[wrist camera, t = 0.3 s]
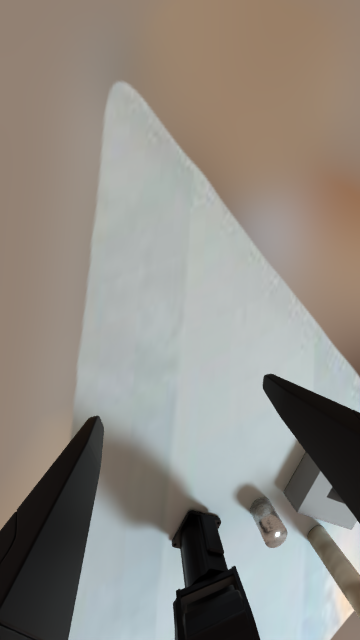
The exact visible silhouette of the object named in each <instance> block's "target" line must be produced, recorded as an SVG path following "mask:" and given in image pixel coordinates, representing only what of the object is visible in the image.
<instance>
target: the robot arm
mask: <svg viewBox="0 0 360 640" xmlns="http://www.w3.org/2000/svg"><path fill="white" fill-rule="evenodd" d="M263 389H264V391H265V393H266V395H267V396H268V398H269V399H270V401H271V403H272V404H273V406H274V408H275V409H276V411H277V412H278V414H279V415H280V417H281V418H282V420H283V421H284V422H285V424H286V425H287V426H288V428H289V429H290V431H291V432H292V433H293V435H294V436H295V437H296V439H297V440H298V441H299V443H300V444H301V445H302V447H303V448H304V449H305V451H306V452H307V453H308V455H309V456H310V457H311V459H312V460H313V461H314V463H315V464H316V465H317V467H318V468H319V470H320V471H321V472H322V474H323V475H324V476H325V478H326V479H327V480H328V482H329V483H330V484H331V486H332V487H333V488H334V490H335V491H336V492H337V494H338V495H339V496H340V498H341V499H342V500H343V502H344V503H345V504H346V506H347V507H348V508H349V510H350V511H351V513H352V514H353V515H354V517H355V518H356V519H357V521H358V522H359V523H360V413H359V412H357V411H355V410H351V409H350V408H348V407H346V406H343V405H341V404H339V403H337V402H334V401H332V400H330V399H328V398H325V397H323V396H321V395H319V394H316V393H314V392H312V391H310V390H307V389H305V388H303V387H301V386H298V385H296V384H294V383H292V382H289V381H287V380H285V379H283V378H280V377H278V376H276V375H274V374H267V375H265V376H264V379H263ZM103 436H104V427H103V424H102V422H101V419H100V417H99V416H93V417H90V418H89V419H88V420H87V421H86V422H85V424H84V425H83V426H82V428H81V429H80V430H79V431H78V433H77V434H76V435H75V436H74V438H73V439H72V440H71V441H70V443H69V444H68V445H67V447H66V448H65V449H64V450H63V452H62V453H61V455H60V456H59V457H58V458H57V459H56V461H55V462H54V463H53V464H52V466H51V467H50V468H49V470H48V471H47V472H46V473H45V475H44V476H43V477H42V478H41V480H40V481H39V482H38V484H37V485H36V486H35V487H34V489H33V490H32V491H31V493H30V494H29V495H28V496H27V497H26V499H25V500H24V501H23V502H22V504H21V505H20V506H19V508H18V509H17V512H15V513H14V514H13V515H12V517H11V518H10V519H9V520H8V521H7V523H6V524H5V525H4V527H3V528H2V529H1V530H0V640H68V637H69V632H70V627H71V621H72V616H73V611H74V605H75V600H76V595H77V590H78V584H79V579H80V574H81V569H82V563H83V558H84V553H85V547H86V542H87V537H88V532H89V526H90V521H91V516H92V510H93V505H94V500H95V495H96V489H97V484H98V479H99V473H100V467H101V458H102V447H103ZM220 524H221V520H220V518H218V517H214V516H211V515H207V514H203V513H200V512H196V511H192V510H190V511H188V513H187V515H186V517H185V518H184V520H183V522H182V524H181V526H180V527H179V529H178V531H177V533H176V535H175V536H174V538H173V540H172V546H173V547H175V548H180V549H181V558H182V566H183V574H184V582H185V588H184V589H181V590H180V589H178V590H176V597H177V598H176V600H175V601H174V603H173V609H174V624H175V640H260V637H259V634H258V630H257V627H256V623H255V620H254V617H253V614H252V611H251V608H250V605H249V602H248V600H247V597H246V594H245V591H244V589H243V586H242V583H241V580H240V578H239V575H238V572H237V569H236V567H235V566H233V567H232V568H231V569H229V570H228V569H227V565H226V562H225V558H224V555H223V554H224V550H223V547H222V543H221V540H220V536H219V533H218V528H219V526H220Z"/></svg>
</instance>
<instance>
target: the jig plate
mask: <svg viewBox="0 0 360 640" xmlns="http://www.w3.org/2000/svg"><path fill="white" fill-rule="evenodd" d="M284 494H285V496H286V497H287V499H288V500H289V502H290V503H291V505H292V506H293V507H294V509H295V510H296V512H297V513H300V514H303V515H306V516H309V517H313V518H316V519H319V520H322V521H325V522H328V523H331V524H335V525H338V526H341V527H344V528H347V529H350V530H352V528H353V527H354V525H355V523H356V521H357V519H356V518H355V517H354V515H353V514H352V513H351V511H350V510H349V508H348V507H347V506H346V504H345V503H344V502H343V500H342V499H341V498H340V496H339V495H338V494H337V492H336V491H335V490H334V488H333V487H332V486H331V484H330V483H329V482H328V480H327V479H326V478H325V476H324V475H323V474H322V472H321V471H320V470H319V468H318V467H317V465H316V464H315V463H314V461H313V460H312V459H311V457H310V456H309V455H308V453H307V452H306V453H305V455H304V457H303V459H302V461H301V462H300V464H299V466H298V468H297V469H296V471H295V473H294V475H293V477H292V478H291V480H290V482H289V484H288V485H287V487H286V489H285V491H284Z"/></svg>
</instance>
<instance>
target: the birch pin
mask: <svg viewBox="0 0 360 640" xmlns="http://www.w3.org/2000/svg"><path fill="white" fill-rule="evenodd" d="M308 540H309V542H310V544H311V545H312V547H313V548H314V550H315V551H316V553H317V554H318V556H319V557H320V559H321V560H322V562H323V563H324V565H325V566H326V568H327V569H328V571H329V572H330V574H331V575H332V577H333V578H334V580H335V582H336V583H337V585H338V586H339V588H340V589H341V591H342V592H343V594H344V595H345V597H346V598H347V600H348V601H349V603H350V604H351V606H352V607H353V609H354V610H355V612H356V613H357V615H358V616H359V618H360V575H359V573H358V572H357V571H356V569H355V568H354V567H353V566H352V564H351V563H350V562H349V560H348V559H347V558H346V556H345V555H344V554H343V552H342V551H341V550H340V548H339V547H338V546H337V545H336V543H335V542H334V541H333V539H332V538H331V537H330V535H329V534H328V533H327V531H326V530H325V529H324V527H322V526H316V527H314V528H313V529H312V530H311V531H310V532H309V534H308Z"/></svg>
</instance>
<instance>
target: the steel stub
mask: <svg viewBox="0 0 360 640" xmlns="http://www.w3.org/2000/svg"><path fill="white" fill-rule="evenodd" d="M250 511H251V514H252V516H253V518H254V520H255V522H256V525H257V527H258V529H259V531H260V533H261V535H262V537H263V539H264V541H265V544H266V545H267V546H268V547H270V548H275V547H278V546H280V545H281V544H282V543H283V542H284V541H285V539H286V537H287V530H286V528H285V526H284V525H283V523H282V521H281V519H280V518H279V516H278V514H277V513H276V511H275V509H274V508H273V506H272V504H271V503H270V501H269V500H268V499H267V498H264V497H262V498H259V499H257V500H255V501H254V502H253V504H252V506H251V509H250Z"/></svg>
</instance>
